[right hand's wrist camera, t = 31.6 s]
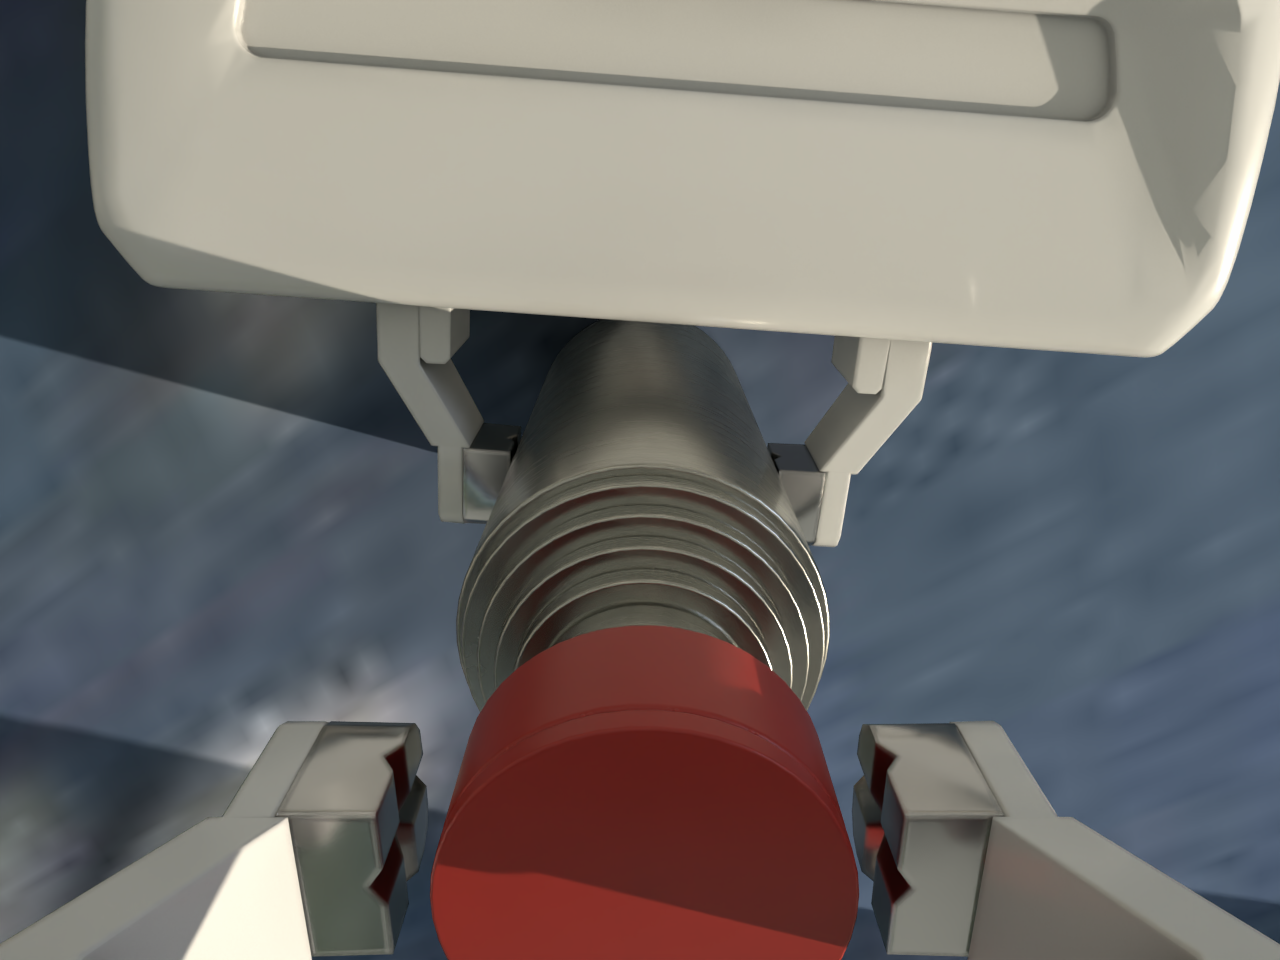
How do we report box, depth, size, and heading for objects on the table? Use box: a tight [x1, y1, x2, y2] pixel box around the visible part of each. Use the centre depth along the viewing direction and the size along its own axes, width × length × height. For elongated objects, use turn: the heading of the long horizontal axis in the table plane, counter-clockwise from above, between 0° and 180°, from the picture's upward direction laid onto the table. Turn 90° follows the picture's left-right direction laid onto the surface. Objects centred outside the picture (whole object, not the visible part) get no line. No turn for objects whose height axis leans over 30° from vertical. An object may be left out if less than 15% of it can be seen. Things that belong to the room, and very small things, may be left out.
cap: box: [430, 625, 859, 960], centre depth 9 cm, size 4×4×2 cm
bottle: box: [456, 319, 830, 712], centre depth 17 cm, size 6×6×16 cm
